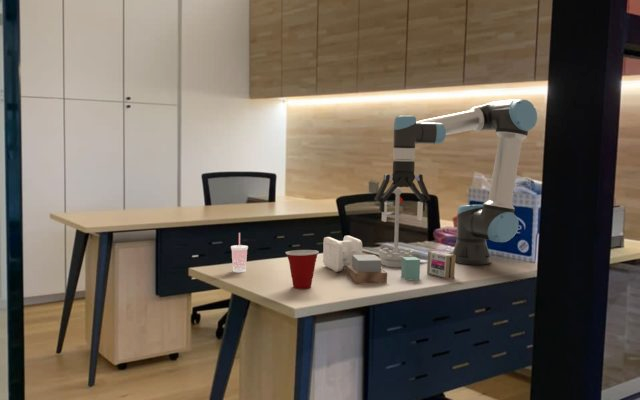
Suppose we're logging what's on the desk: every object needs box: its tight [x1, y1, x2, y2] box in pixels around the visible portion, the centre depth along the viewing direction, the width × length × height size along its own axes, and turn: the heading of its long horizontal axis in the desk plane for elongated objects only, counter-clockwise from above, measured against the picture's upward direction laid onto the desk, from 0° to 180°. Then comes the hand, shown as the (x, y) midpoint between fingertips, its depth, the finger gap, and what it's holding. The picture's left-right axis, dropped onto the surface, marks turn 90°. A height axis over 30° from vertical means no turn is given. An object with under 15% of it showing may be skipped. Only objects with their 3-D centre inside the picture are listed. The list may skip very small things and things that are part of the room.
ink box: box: [426, 250, 456, 280], centre depth 219 cm, size 10×4×8 cm, turn 37°
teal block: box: [400, 256, 421, 281], centre depth 215 cm, size 5×5×7 cm
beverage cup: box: [230, 232, 249, 273], centre depth 221 cm, size 6×6×14 cm
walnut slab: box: [346, 266, 388, 285], centre depth 213 cm, size 11×13×4 cm
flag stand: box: [378, 187, 414, 268], centre depth 238 cm, size 13×13×30 cm
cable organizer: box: [322, 235, 363, 273], centre depth 228 cm, size 15×11×12 cm
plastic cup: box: [285, 249, 320, 290], centre depth 199 cm, size 11×11×12 cm
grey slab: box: [352, 254, 382, 272], centre depth 213 cm, size 8×10×4 cm
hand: (402, 220), depth 216 cm, fingers open, 13 cm apart
